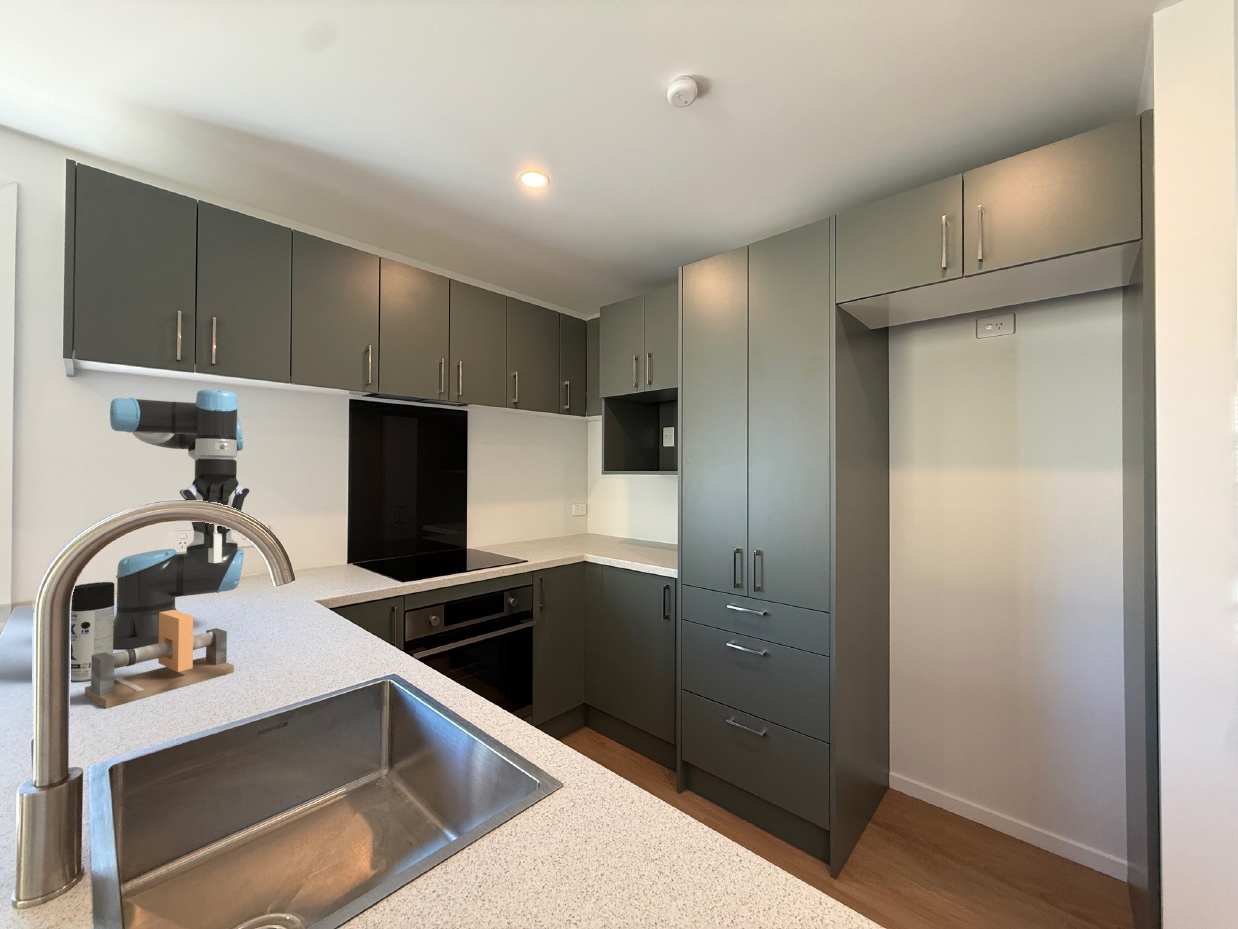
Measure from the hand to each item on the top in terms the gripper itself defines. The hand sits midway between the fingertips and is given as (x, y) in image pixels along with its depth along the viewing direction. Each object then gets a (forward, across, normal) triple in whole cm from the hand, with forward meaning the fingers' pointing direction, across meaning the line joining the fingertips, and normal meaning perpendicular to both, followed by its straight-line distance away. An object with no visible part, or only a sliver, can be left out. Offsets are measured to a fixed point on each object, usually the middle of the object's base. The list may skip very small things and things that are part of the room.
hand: (214, 562), depth 119 cm
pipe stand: (+24, -9, 0) cm, 26 cm away
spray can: (+24, -16, +18) cm, 34 cm away
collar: (+21, -7, 0) cm, 22 cm away
